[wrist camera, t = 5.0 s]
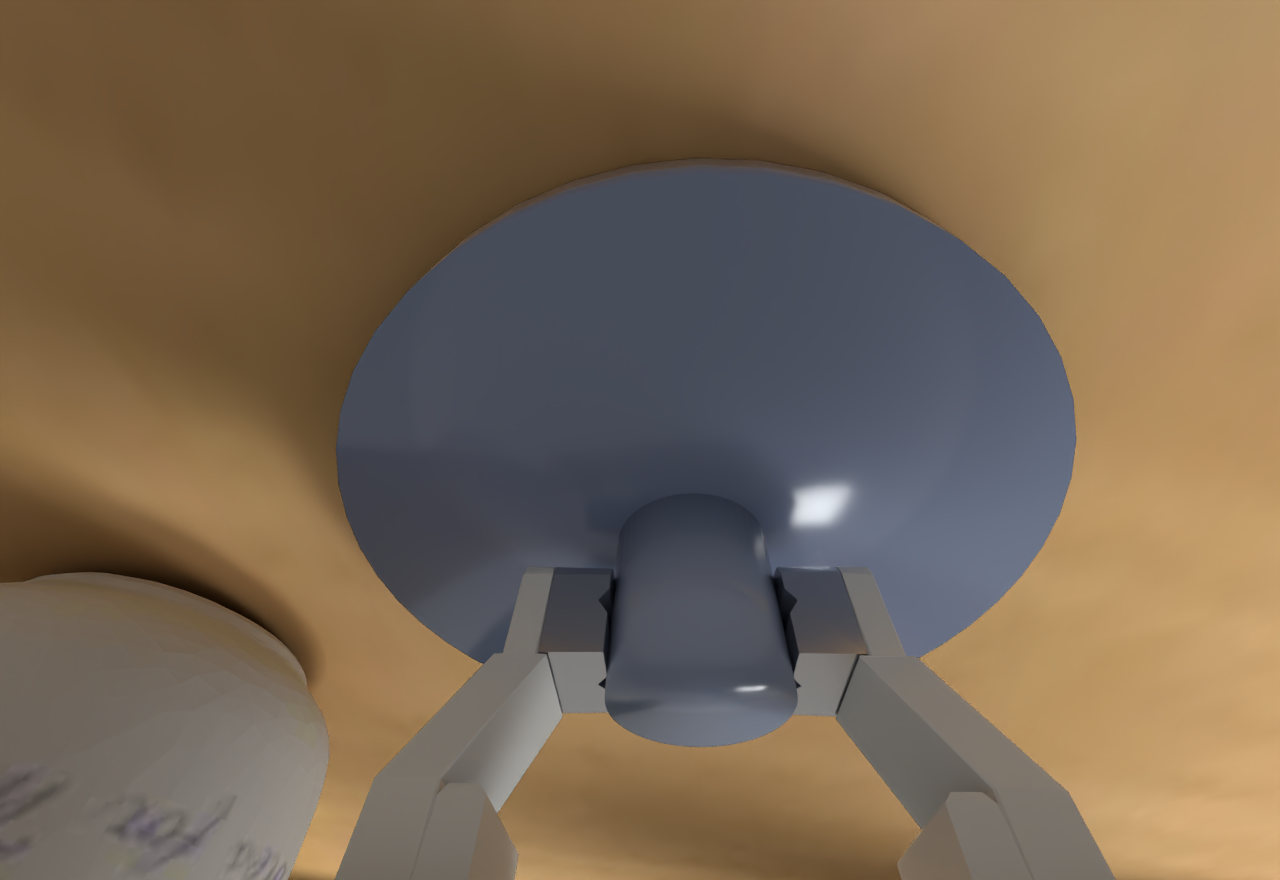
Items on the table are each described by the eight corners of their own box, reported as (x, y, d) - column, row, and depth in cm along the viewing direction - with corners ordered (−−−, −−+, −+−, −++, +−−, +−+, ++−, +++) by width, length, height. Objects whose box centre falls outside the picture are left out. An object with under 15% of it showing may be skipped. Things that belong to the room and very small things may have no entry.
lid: (1211, 138, 7) (1710, 229, 4) (922, 678, 15) (996, 858, 11) (224, 175, 7) (-108, 282, 4) (456, 674, 15) (402, 844, 12)
